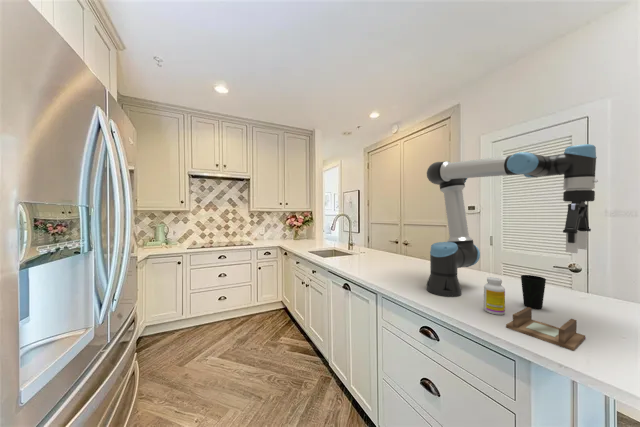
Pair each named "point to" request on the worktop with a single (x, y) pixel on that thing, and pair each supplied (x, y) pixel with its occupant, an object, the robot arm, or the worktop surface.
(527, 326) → the holder
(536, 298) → the cup
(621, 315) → the worktop surface
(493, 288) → the supplement bottle
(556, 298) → the worktop surface
